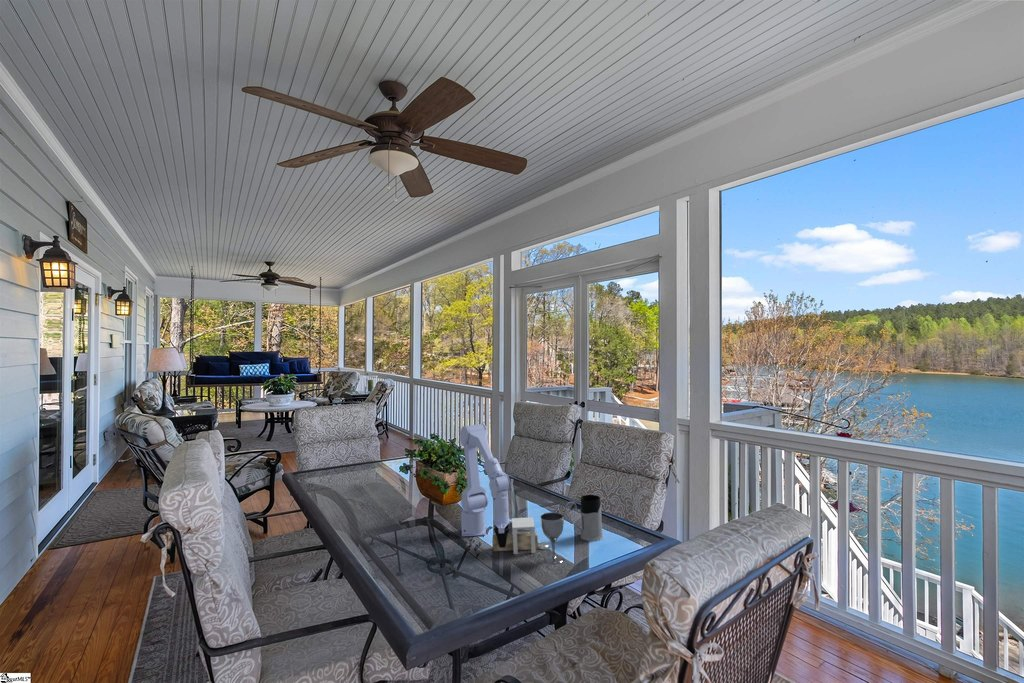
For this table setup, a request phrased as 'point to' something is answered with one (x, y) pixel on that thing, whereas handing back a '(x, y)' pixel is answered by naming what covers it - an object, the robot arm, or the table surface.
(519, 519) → the small white stool
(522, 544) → the push stick
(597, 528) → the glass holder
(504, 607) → the table surface
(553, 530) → the wine glass
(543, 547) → the steel disc
